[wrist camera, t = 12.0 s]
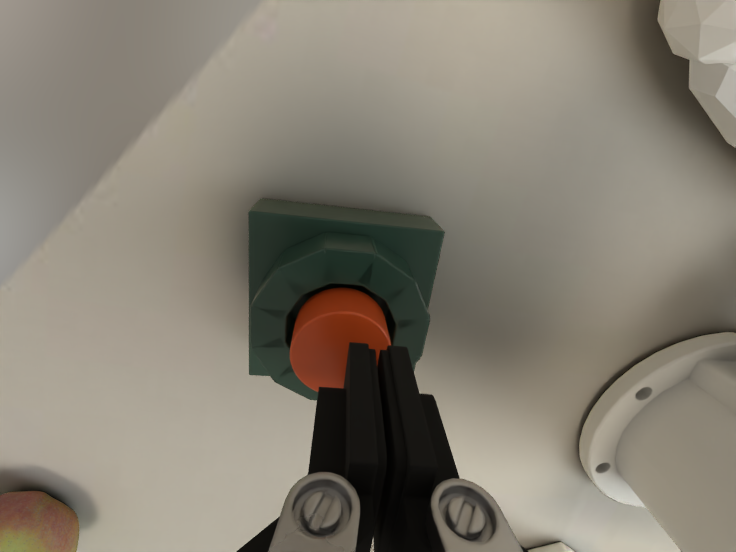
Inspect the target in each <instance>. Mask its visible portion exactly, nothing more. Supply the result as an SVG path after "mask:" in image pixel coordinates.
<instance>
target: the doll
mask: <svg viewBox="0 0 736 552" xmlns="http://www.w3.org/2000/svg"><path fill="white" fill-rule="evenodd" d="M657 20H658V22H659V25H660V27H661V29H662V31H663V33H664V35H665V37H666V40H667V42H668V44H669V46H670V48H671V50H672V52H673V54H675V55H678V56H680V57H683V58H686V59H688V60H690V61H689V89H690V90H691V92H692V93H693V95H694V96H695V97H696V99H697V100H698V102H699V103H700V104H701V106H702V107H703V109H704V110H705V112H706V113H707V114H708V116H709V117H710V119H711V120H712V122H713V123H714V124H715V126H716V127H717V129H718V130H719V132H720V133H721V134H722V136H723V137H724V139H725V140H726V142H727V143H728V144H730V145H732V146H734V147H735V148H736V0H660V6H659V12H658V19H657Z"/></svg>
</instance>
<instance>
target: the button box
mask: <svg viewBox="0 0 736 552" xmlns="http://www.w3.org/2000/svg"><path fill="white" fill-rule="evenodd" d="M444 233H445V232H444V230H443V229H442V228H441V227H440V226H439V225H438V224H437V223H436V222H435V221H434V220H433V219H432V218H431V217H428V216H419V215H410V214H401V213H392V212H382V211H373V210H364V209H355V208H346V207H337V206H328V205H319V204H310V203H300V202H291V201H282V200H273V199H264V198H261V199H260V200H259V201H258V202H257V203H256V204H255V205H254V206H253V207H252V208H251V209H250V210H249V375H261V376H271V378H272V379H273V380H274V382H276V383H278V384H280V385H282V386H284V387H286V388H288V389H290V390H292V391H294V392H296V393H298V394H300V395H302V396H304V397H306V398H308V399H310V400H317V398H318V392H317V391H314V390H312V389H311V388H309V387H308V386H306V385H305V384H304V383H303V382H302V381H301V380H300V379H299V378H298V377H297V375H296V374H295V372H294V370H293V368H292V365H291V362H290V346H291V341H292V336H293V331H294V326H295V321H296V318H297V315H298V312H299V310H300V309H301V307H302V306H303V305H304V303H305V302H306V301H307V300H308V299H310V298H311V297H312V296H314V295H315V294H317V293H319V292H321V291H324V290H327V289H331V288H351V289H355V290H358V291H361V292H363V293H365V294H367V295H369V296H370V297H371V298H373V299H374V300H375V301H376V302H377V303H378V305H379V306H380V308H381V309H382V311H383V314H384V316H385V320H386V324H387V329H388V333H389V337H390V341H391V346H403V347H407V348H408V352H409V356H410V360H411V363H412V367H413V371H414V369H415V365H416V362H417V361H418V360H419V359H420V357H421V356H422V353H423V349H424V344H425V340H426V336H427V331H428V327H429V322H430V315H429V313H428V306H429V301H430V297H431V292H432V288H433V283H434V279H435V274H436V270H437V265H438V261H439V256H440V251H441V247H442V242H443V238H444Z"/></svg>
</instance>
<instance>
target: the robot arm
mask: <svg viewBox="0 0 736 552" xmlns="http://www.w3.org/2000/svg"><path fill="white" fill-rule="evenodd" d="M579 456H580V460H581V463H582V466H583V468H584V470H585V471H586V473H587V474H588V476H589V477H590V479H591V480H592V482H593V483H594V485H595V486H596V487H597V488H598V489H599V490H600V491H601V492H602V493H603V494H604V495H606V496H608V497H609V498H611V499H613V500H614V501H617V502H621V503H624V504H627V505H631V506H639V507H646V508H647V509H648V510H649V512H650V513H651V514H652V515H653V517H654V518H655V519H656V520H657V522H658V523H659V524H660V525H661V527H662V528H663V529H664V530H665V532H666V533H667V534H668V535H669V537H670V538H671V539H672V540H673V542H674V543H675V544H676V545H677V547H678V548H679V549H680V550H681V552H736V333H734V332H724V333H717V334H710V335H703V336H699V337H696V338H692V339H689V340H685V341H682V342H679V343H676V344H674V345H672V346H670V347H667V348H665V349H663V350H661V351H658V352H656V353H654V354H653V355H651V356H649V357H648V358H646V359H644V360H643V361H641V362H639V363H638V364H636V365H635V366H633V367H632V368H631V369H630V370H628V371H627V372H626V373H625V374H623V375H622V376H621V377H619V378H618V379H617V380H616V381H615V382H614V383H613V384H612V385H611V386H610V387H609V388H608V389H607V390H606V391H605V392H604V393H603V394H602V396H601V397H600V399H599V400H598V401H597V403H596V404H595V405H594V407H593V408H592V410H591V411H590V413H589V416H588V418H587V420H586V422H585V424H584V426H583V429H582V433H581V437H580V441H579ZM373 537H374V552H528V551H527V550H526V549H525V548H523V547H522V546H521V545H520V544H519V543H518V541H517V539H516V537H515V535H514V533H513V531H512V530H511V528H510V526H509V524H508V522H507V520H506V518H505V517H504V515H503V513H502V511H501V509H500V507H499V506H498V504H497V503H496V501H495V500H494V499H493V497H492V496H491V495H490V494H489V493H488V492H486V491H485V490H484V489H483V488H482V487H480V486H478V485H477V484H475V483H473V482H470V481H467V480H464V479H460V478H459V475H458V472H457V469H456V465H455V462H454V459H453V456H452V452H451V449H450V446H449V443H448V440H447V436H446V433H445V430H444V427H443V423H442V420H441V417H440V414H439V411H438V407H437V404H436V401H435V399H434V396H433V395H429V394H419V391H418V387H417V383H416V379H415V375H414V371H413V367H412V363H411V360H410V356H409V352H408V348H407V347H403V346H391V345H388V346H387V349H386V350H380V353H379V359H378V365H377V360H376V351H375V349H369V345H368V344H367V343H355V342H350V343H349V348H348V356H347V364H346V372H345V380H344V388H331V387H319V390H318V398H317V406H316V414H315V423H314V431H313V439H312V447H311V456H310V464H309V472H308V475H307V476H305V477H303V478H302V479H300V480H299V481H298V482H297V483H296V484H295V485H294V486H293V487H292V488H291V489H290V491H289V493H288V495H287V497H286V500H285V503H284V506H283V509H282V512H281V515H280V517H278V518H277V519H276V520H275V521H274V522H272V523H271V524H270V525H269V526H267V527H266V528H265V529H264V530H262V531H261V532H260V533H259V534H258V535H256V536H255V537H254V538H253V539H251V540H250V541H249V542H248V543H246V544H245V545H244V546H243V547H242V548H240V549H239V550H238V551H237V552H370V548H371V544H372V539H373Z"/></svg>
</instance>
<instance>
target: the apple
mask: <svg viewBox="0 0 736 552" xmlns="http://www.w3.org/2000/svg"><path fill="white" fill-rule="evenodd" d="M78 538H79V521H78V517H77V515H76V513H75V512H74V511H73V510H72V509H71V508H69V507H67V506H66V505H65V504H63V503H62V502H60V501H58V500H56V499H54V498H52V497H51V496H49V495H48V494H46V493H45V492H42V491H20V492H16V491H14V492H8V493H5V494H2V495H0V552H76V550H77V545H78Z"/></svg>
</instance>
